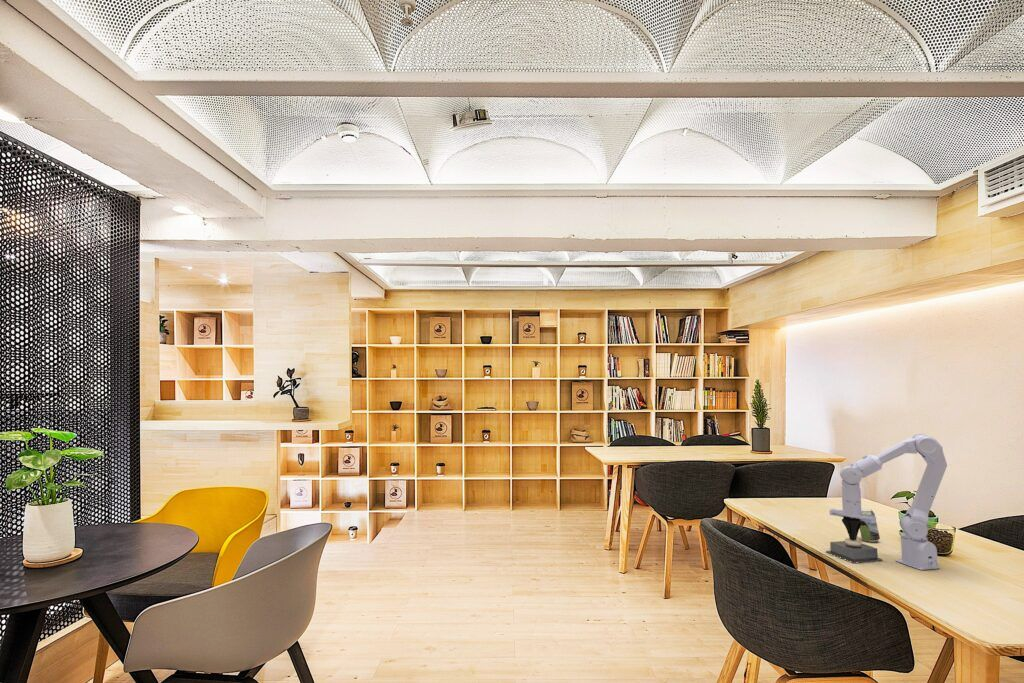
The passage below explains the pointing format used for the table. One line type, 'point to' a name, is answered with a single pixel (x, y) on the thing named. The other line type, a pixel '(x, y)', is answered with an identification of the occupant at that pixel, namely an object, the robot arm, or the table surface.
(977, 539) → the table surface
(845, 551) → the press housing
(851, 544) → the plunger
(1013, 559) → the table surface
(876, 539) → the beverage can
